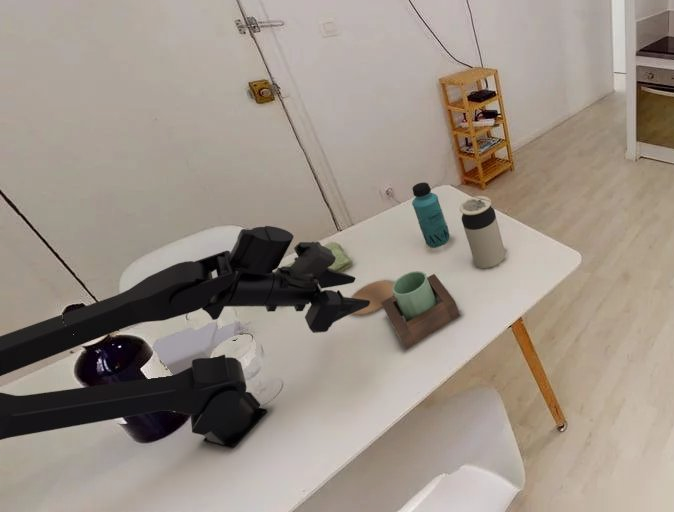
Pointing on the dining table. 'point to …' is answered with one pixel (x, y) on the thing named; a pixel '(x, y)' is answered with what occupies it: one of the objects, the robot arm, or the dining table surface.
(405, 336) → the cup holder
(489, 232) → the travel mug
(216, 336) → the charger
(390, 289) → the coaster
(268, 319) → the dining table surface
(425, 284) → the cup
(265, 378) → the dining table surface
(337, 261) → the washcloth
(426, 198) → the beverage bottle
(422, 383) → the dining table surface
